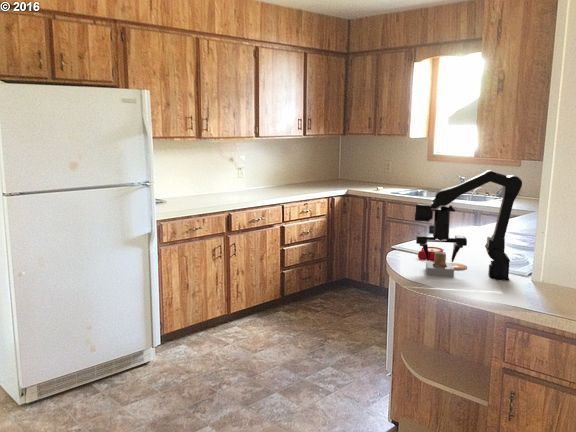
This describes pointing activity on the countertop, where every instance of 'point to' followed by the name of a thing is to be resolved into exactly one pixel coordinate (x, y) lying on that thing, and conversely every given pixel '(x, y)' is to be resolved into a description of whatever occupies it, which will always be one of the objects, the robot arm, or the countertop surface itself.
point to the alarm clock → (429, 253)
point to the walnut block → (439, 259)
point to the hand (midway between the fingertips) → (440, 261)
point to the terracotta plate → (459, 266)
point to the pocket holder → (439, 270)
